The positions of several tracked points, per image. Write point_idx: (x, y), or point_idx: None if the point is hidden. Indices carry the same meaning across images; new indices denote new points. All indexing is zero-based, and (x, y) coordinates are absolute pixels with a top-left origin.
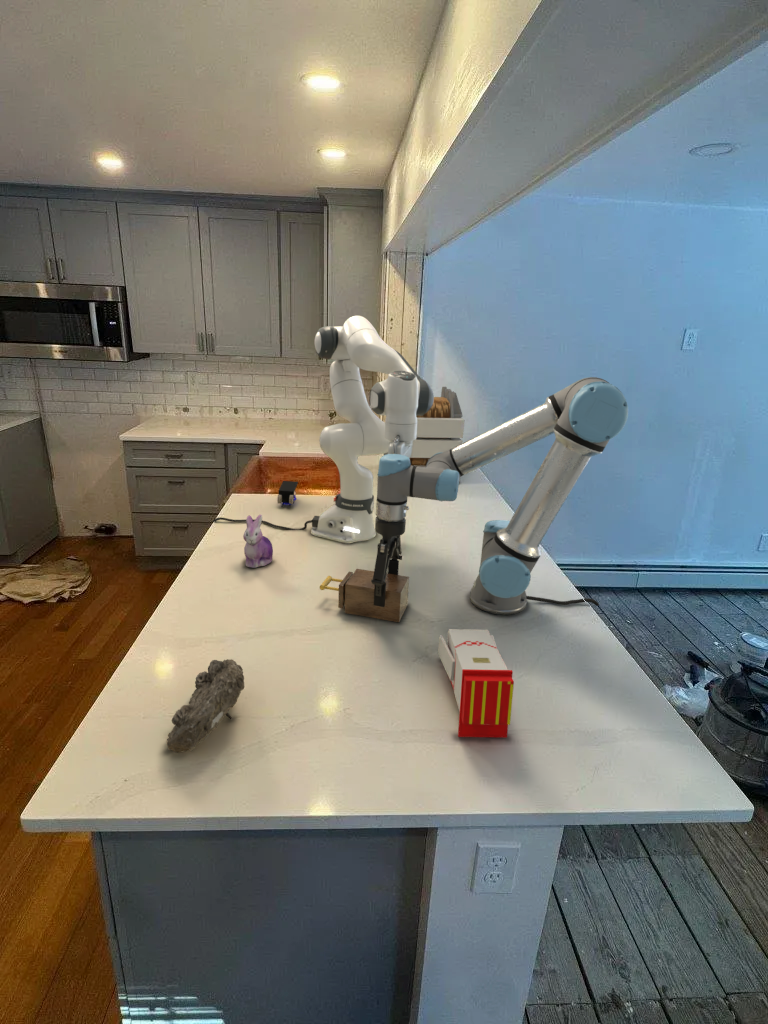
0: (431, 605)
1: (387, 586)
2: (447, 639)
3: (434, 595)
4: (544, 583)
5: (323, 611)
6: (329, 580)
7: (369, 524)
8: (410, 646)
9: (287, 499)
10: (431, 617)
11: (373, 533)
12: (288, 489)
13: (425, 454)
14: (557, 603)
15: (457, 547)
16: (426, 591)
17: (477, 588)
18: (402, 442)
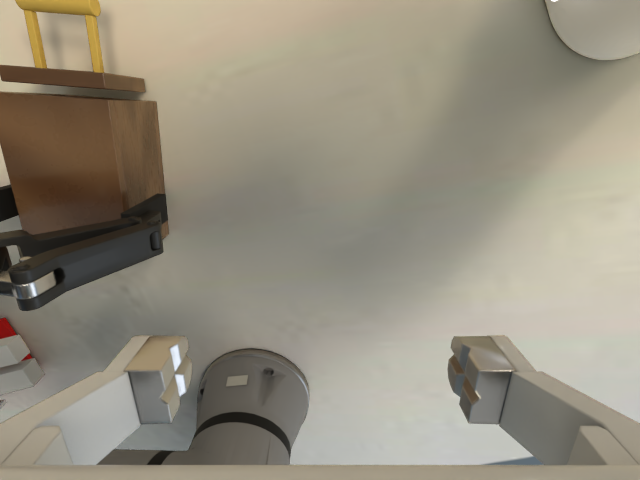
0: (189, 281)
1: (45, 218)
2: (16, 335)
3: (237, 283)
4: (358, 459)
5: (40, 31)
6: (68, 11)
7: (625, 28)
8: (16, 261)
9: None
10: (140, 286)
11: (602, 52)
12: None
13: None
14: None
15: (522, 313)
16: (249, 265)
17: (218, 384)
18: None
